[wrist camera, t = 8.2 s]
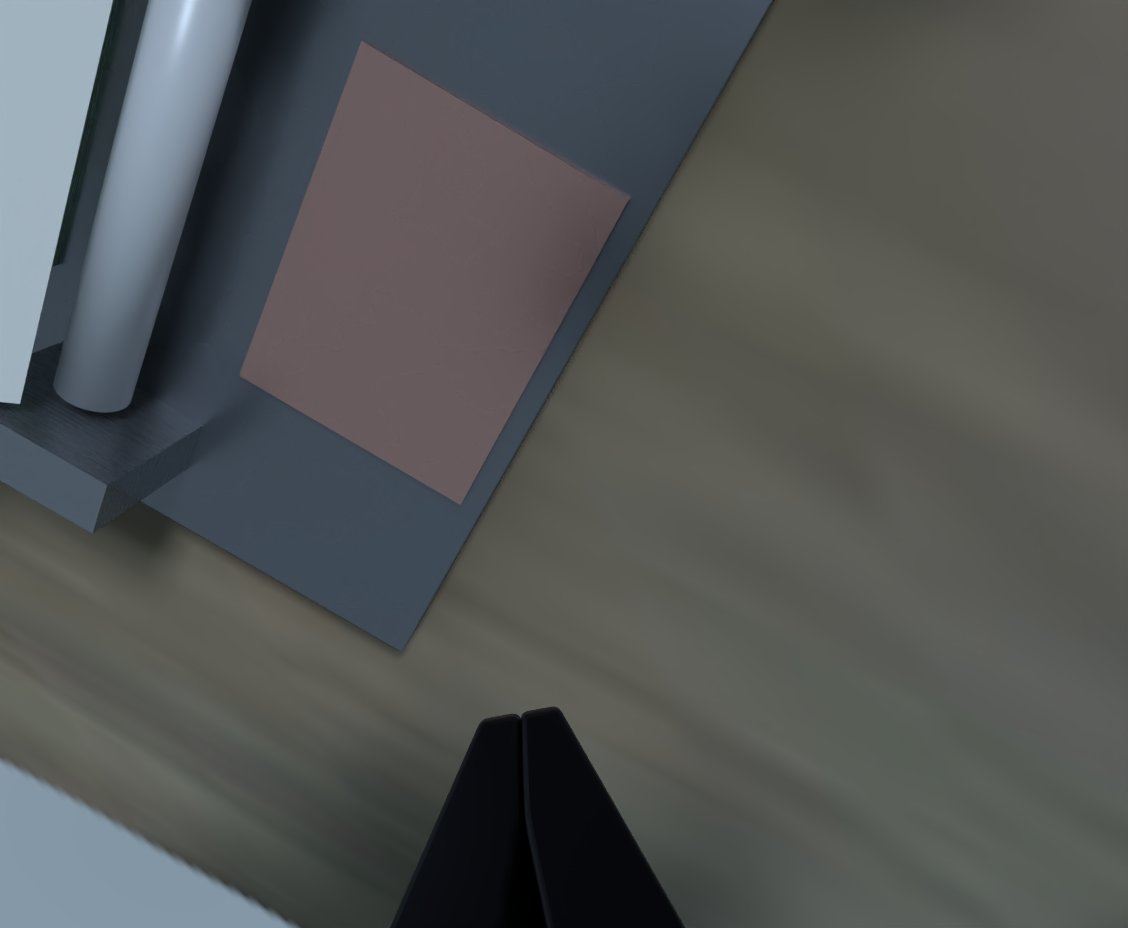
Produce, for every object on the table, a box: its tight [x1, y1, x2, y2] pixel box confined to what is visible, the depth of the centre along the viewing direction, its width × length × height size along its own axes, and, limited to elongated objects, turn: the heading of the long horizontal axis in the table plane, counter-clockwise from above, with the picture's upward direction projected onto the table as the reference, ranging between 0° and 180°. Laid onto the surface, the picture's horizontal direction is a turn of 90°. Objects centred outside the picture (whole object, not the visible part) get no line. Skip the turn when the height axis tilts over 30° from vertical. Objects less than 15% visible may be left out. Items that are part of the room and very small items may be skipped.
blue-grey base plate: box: [0, 0, 774, 652], centre depth 18 cm, size 18×18×4 cm
